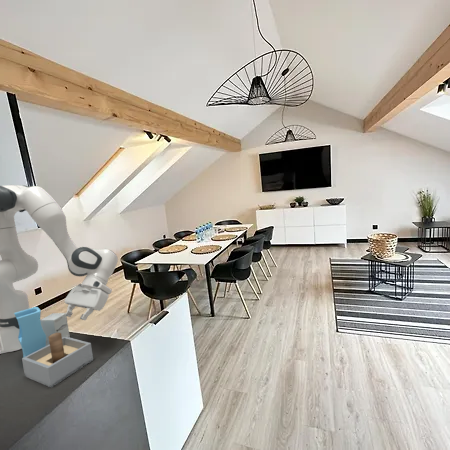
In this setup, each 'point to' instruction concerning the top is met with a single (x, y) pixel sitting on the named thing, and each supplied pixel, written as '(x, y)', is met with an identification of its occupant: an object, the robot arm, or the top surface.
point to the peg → (56, 347)
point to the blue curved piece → (30, 330)
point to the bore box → (56, 372)
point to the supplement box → (55, 325)
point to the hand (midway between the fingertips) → (74, 317)
